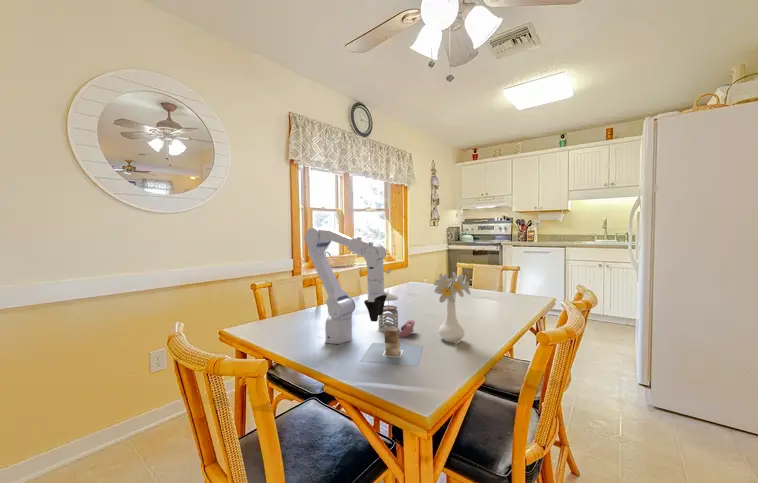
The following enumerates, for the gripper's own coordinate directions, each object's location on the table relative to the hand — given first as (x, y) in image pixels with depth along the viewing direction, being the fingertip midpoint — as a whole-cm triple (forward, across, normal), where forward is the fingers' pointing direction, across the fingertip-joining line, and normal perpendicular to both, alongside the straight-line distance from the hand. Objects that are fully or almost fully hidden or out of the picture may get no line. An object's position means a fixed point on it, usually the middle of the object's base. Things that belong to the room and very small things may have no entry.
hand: (376, 318), depth 108 cm
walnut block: (+6, -6, -6) cm, 10 cm away
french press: (+10, +18, +1) cm, 21 cm away
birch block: (+10, -6, -6) cm, 13 cm away
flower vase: (+11, +10, -26) cm, 30 cm away
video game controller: (+11, +15, -8) cm, 20 cm away
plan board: (+10, -6, -6) cm, 14 cm away
